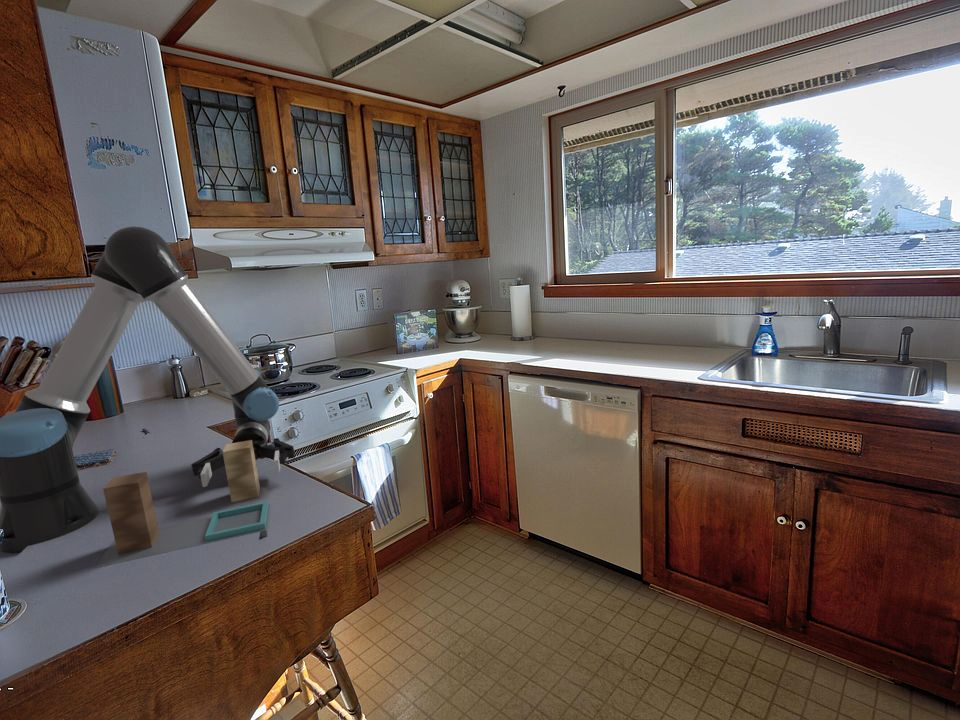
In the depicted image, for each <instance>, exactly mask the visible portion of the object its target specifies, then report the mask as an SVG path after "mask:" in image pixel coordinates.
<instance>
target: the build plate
mask: <svg viewBox="0 0 960 720" xmlns="http://www.w3.org/2000/svg"><path fill="white" fill-rule="evenodd" d="M268 501H269V500H267V501H263V502H258V503H252V504H247V505H243V506H238V507H233V508H228V509H223V510H219V511H214V512H213V513H212V515H211V516H207V517H202V518H197V519H192V520H187V521H184V522H183V521H182V522H179V523H172V524H168V525H164V526H163V525H162V526H158V528H159V533H160V534H159V536H158V538H157V539H156V541H155V543H154V545H153V547H152V548H147V549H142V550H138V551H133V552H129V553H124V554H119V555H118V551H117V547H116V542H115V539H114V540H113V541H112V542H111V543H110V545H109V547H108V548H107V549H106V551H105V552H104V553H103V555H102V556H101V558H100V559H99V560H98V562H97V563H96V564H95V567H94V569H97V568H102V567H107V566H111V565H115V564H120V563H124V562H129V561H133V560H138V559H142V558H147V557H152V556H156V555H161V554H165V553H169V552H174V551H179V550H183V549H187V548H191V547H197V546H201V545H206V544H210V543H214V542H219V541H225V540H228V539H233V538H238V537H242V536H246V535H250V534H255V533H259V537H258V539H260V538H265V537H268V532H269V526H270V517H271V504H269V502H268Z"/></svg>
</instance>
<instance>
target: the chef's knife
mask: <svg viewBox="0 0 960 720" xmlns="http://www.w3.org/2000/svg"><path fill="white" fill-rule="evenodd" d="M142 430H143V431H145V432H146V433H151V431H149V430H148V429H146V428H142ZM142 430H141V431H142ZM143 431H142V432H143ZM145 432H144V433H145ZM146 433H145V434H146Z"/></svg>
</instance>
